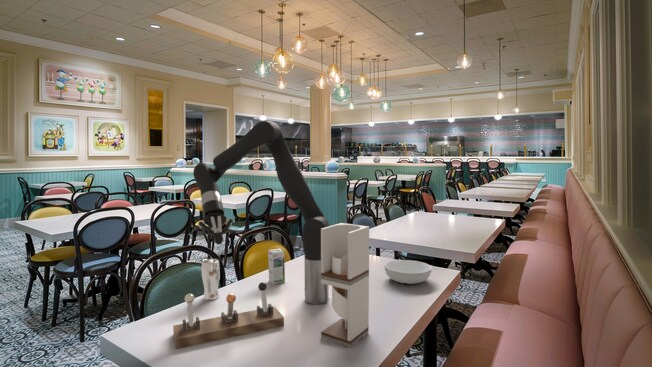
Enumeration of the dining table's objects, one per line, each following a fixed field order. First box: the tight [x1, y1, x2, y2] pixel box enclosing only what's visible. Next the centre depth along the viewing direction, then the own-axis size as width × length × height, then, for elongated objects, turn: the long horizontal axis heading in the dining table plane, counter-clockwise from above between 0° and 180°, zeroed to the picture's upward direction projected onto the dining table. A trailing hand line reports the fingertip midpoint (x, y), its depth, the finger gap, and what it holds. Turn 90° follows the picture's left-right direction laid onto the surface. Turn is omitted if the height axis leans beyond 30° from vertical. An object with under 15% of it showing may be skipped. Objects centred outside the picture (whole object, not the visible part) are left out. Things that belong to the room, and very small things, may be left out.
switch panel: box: [172, 303, 285, 350], centre depth 125 cm, size 34×10×6 cm, turn 116°
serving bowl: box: [384, 259, 433, 285], centre depth 172 cm, size 21×21×7 cm
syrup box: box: [267, 248, 286, 285], centre depth 171 cm, size 6×6×14 cm
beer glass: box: [201, 258, 221, 301], centre depth 153 cm, size 7×7×15 cm
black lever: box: [257, 281, 269, 314], centre depth 131 cm, size 3×3×11 cm
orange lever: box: [225, 293, 237, 321], centre depth 123 cm, size 3×3×11 cm
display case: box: [320, 222, 370, 349], centre depth 120 cm, size 11×11×35 cm
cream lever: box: [184, 293, 196, 329], centre depth 121 cm, size 3×3×11 cm
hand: (219, 243), depth 137 cm, fingers closed
